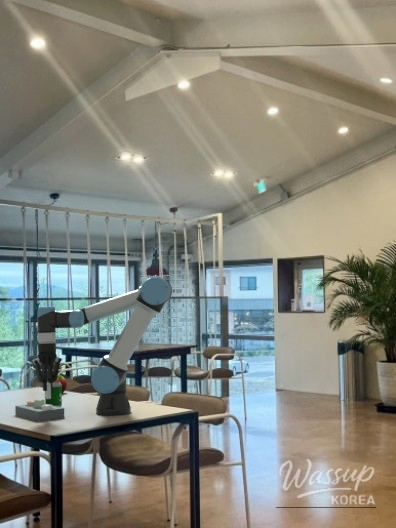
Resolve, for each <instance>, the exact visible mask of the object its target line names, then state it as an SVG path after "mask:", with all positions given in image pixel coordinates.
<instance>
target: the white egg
mask: <svg viewBox="0 0 396 528" xmlns="http://www.w3.org/2000/svg"><path fill="white" fill-rule="evenodd" d="M50 409H52V405H42V410H50Z"/></svg>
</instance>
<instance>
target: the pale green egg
mask: <svg viewBox="0 0 396 528" xmlns="http://www.w3.org/2000/svg"><path fill="white" fill-rule="evenodd" d="M33 401H34V408H42V405H45V398H43V399H41V398H39V399H34V400H33Z"/></svg>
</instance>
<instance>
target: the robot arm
mask: <svg viewBox="0 0 396 528" xmlns="http://www.w3.org/2000/svg"><path fill="white" fill-rule="evenodd" d="M172 295H173V287H172V285H171V283H170V282H169V280H167V279H165V278H163V277H161V276H155V275H154V276H151V277H149V278H147V279H145V280H144V281H143V283H142V284H141V286H139V287H138V289H136V290H133V291H132V290H131V291H129V292H127V293H124V294H121V295H117V296H115V297H112V298H108V299H105V300H102V301H99V302H96V303H93V304H89V305H87V306H83V307H80V308H78V309H71V310H70V309H68V310H57V309H56V307H55V306H54V305H53V306H39V307H38V308H37V315H36V318H37V319H36V320H37V321H36V323H37V343H38V344H37V356H36V358H35V359H33V360H32V364H33V365H34V370H35V374H36V377H37V381H38V383H41V384H42V391H43V392H44V400H45V399H51V390H52V389H53V388H52V387H53V386H52V383H53V382H54V381H56V380H57V376H59V369H60V364H61V362H62V361H63V358H61V357H58V355H57V343H56V342H57V340H56V339H57V338H56V337H57V336H56V335H57V334H56V329H77V328H83V326H85V325H88V324H91V323H94V322H97V321H100V320H103V319H107V318H109V317H113V316H115V315H119V314H123V313H125V312H127V311H128V312H129V311H131V310H133V311H132V313H131V315H130V316H129V318H128V319H127V322H126V324H125V325H124V327H123V329H122V331H121V333H120V335H119V336H118V338H117V339H116V342H115V343H114V345H113V347H112V348H111V351H110V352H109V354H106V355H103V357H102V359H101V360H100V361H99V364H98V366H97V367H96V368H95V369H94V370H93V371H92V374H91V378H90V382H91V385H92V387H93V388H94V390H95V391H97V392H98V393H99V397H98V398H99V399H98V400H97V401H98V402H97V404H96V408H95V413H96V415H101V416H116V415H117V416H119V415H121V416H122V415H127V414H130V413H131V411H132V410H131V409H132V408H131V404H130V402H129V398H128V394H127V372H128V370H129V368H128V363H129V361H130V359H131V357H132V356H133V354H134V352H135V350H136V349H137V347H138V345H139V343H140V342H141V340H142V337H143V336H144V335H145V332H146V331H147V329H148V327H149V325H150V324H151V322H152V320H153V318H154V316H156V315H158V314H160V313H161V311H162V309H163V308H164V306H165V305H166V303H168V301H170V300H171V298H172ZM47 382H48V383H47Z"/></svg>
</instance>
